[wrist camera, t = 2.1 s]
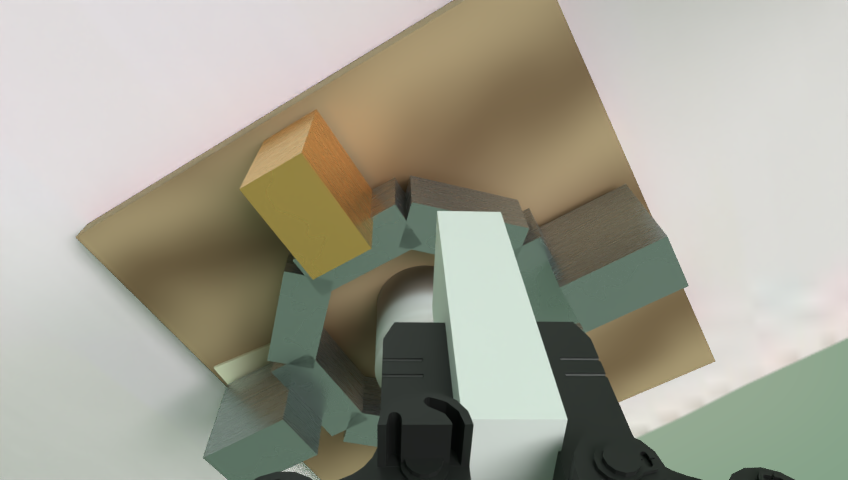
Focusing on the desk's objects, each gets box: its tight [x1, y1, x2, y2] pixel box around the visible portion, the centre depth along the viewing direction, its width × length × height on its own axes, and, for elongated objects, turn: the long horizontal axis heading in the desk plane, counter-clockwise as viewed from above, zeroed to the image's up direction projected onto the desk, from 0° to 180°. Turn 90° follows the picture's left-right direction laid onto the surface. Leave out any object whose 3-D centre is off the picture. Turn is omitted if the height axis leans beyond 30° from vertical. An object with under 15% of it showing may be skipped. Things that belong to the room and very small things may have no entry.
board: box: [76, 0, 715, 480], centre depth 28 cm, size 22×22×6 cm
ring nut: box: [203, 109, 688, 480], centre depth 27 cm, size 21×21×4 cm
